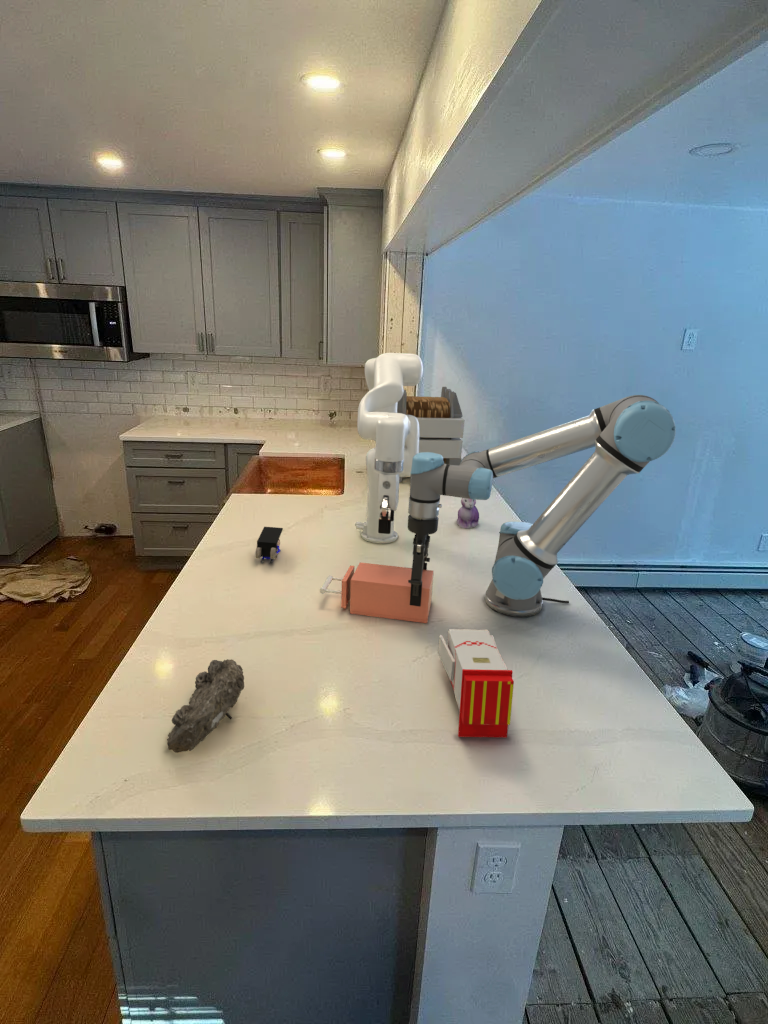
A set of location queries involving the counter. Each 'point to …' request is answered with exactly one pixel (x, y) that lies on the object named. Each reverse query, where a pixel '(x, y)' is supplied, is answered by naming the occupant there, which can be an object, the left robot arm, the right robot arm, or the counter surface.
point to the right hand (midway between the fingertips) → (417, 594)
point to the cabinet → (388, 593)
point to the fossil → (206, 705)
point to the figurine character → (268, 543)
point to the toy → (478, 682)
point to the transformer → (437, 424)
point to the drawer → (345, 586)
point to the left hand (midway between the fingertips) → (386, 526)
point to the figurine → (468, 514)
